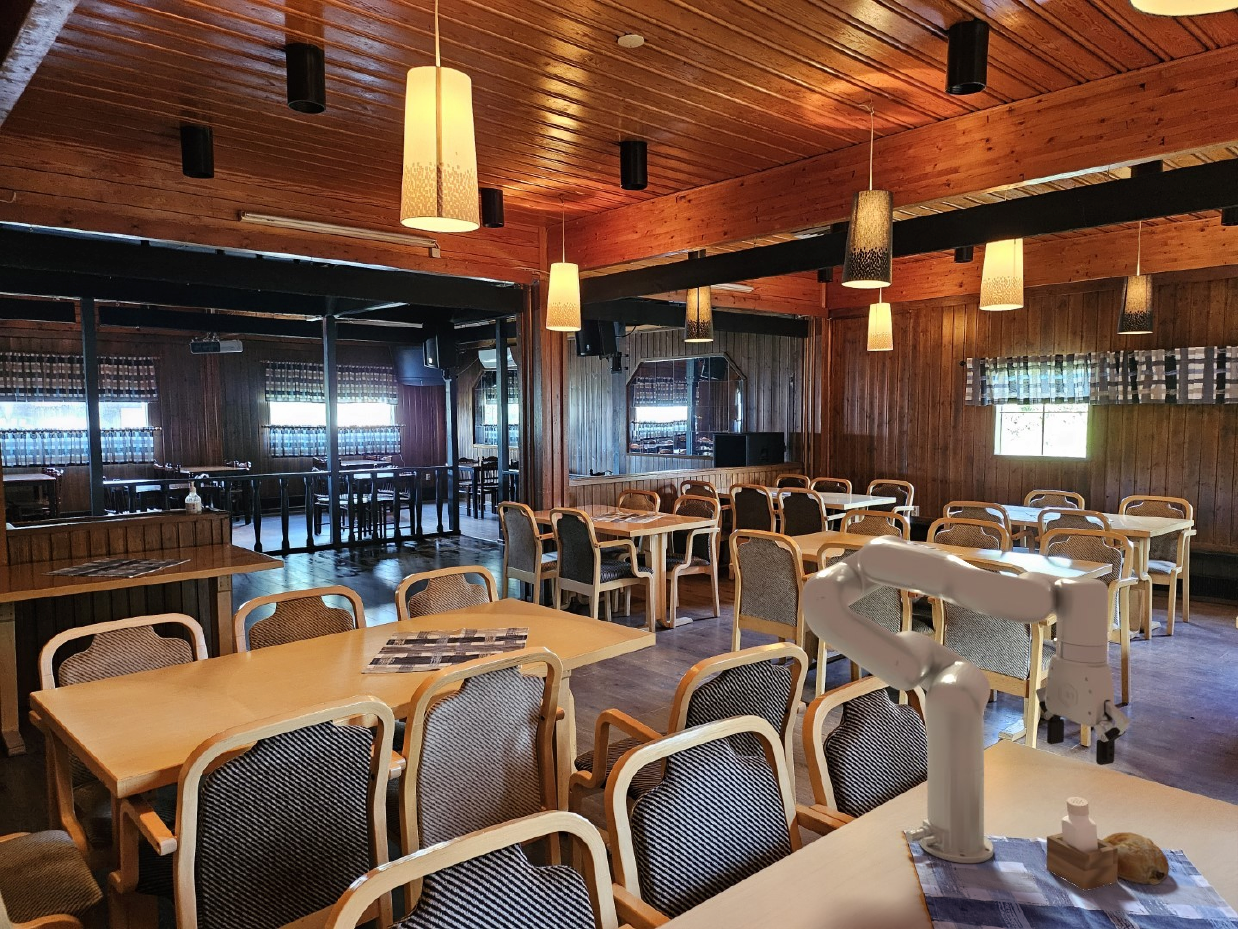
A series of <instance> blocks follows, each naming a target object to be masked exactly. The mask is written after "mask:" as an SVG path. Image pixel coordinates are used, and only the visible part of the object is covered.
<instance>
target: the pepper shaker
mask: <svg viewBox="0 0 1238 929" xmlns="http://www.w3.org/2000/svg"><path fill="white" fill-rule="evenodd" d="M1066 806H1067V807H1066V808H1067V810H1066V811H1067V815H1066V816H1064V817H1062V818H1061V833H1062V836H1063V842H1065V843H1067V844H1069V845H1070V846H1072V847H1074V848H1076V849H1078V850H1080V851H1082V852H1088V851H1092V850H1096V849H1098V843H1097V838H1098V832H1097V831H1098V829H1097V828H1098V827H1097V824H1096V822H1095V821H1094V820H1093V819H1092V818H1090V816H1089V814H1090V811H1089V801H1087V799H1085V798H1083V797H1078V796H1070V797H1068V798H1067V799H1066Z"/></svg>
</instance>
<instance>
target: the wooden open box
mask: <svg viewBox="0 0 1238 929" xmlns="http://www.w3.org/2000/svg"><path fill="white" fill-rule="evenodd" d="M1102 840H1103V839H1099V838H1098V837H1097V843H1098V849H1096V850H1092V851H1088V852H1082V851H1080V850H1078V849H1076V848H1074V847H1072V846H1070V845H1069V844H1067V843H1065V842H1063V836H1062V832H1061V833H1056V834H1051V835H1048V836H1046V870H1047V871H1048V872H1050V871H1051V872H1053V873H1055V874H1056V875H1055V874H1054V875H1055V876H1057V877H1058V876H1059V878H1060V877H1062V878H1064V879H1066V880H1067V881H1068V883H1069V882H1070V883H1069V884H1071V883H1073V884H1075V885H1076V886H1078V887H1079V888H1078V887H1077V888H1078V889H1080V888H1081V889H1084V890H1088V889H1091V890H1094V888H1095V889H1098V888H1097V887H1099V888H1102V887H1104V886H1103V885H1106V886H1108V885H1107V884H1110V883H1113V884H1117V883H1118V877H1117V867H1118V848H1116V847H1114V846H1112V845H1110V844H1108V843H1106V842H1104V841H1102ZM1051 872H1050V873H1051ZM1053 873H1052V874H1053ZM1062 878H1061V879H1062ZM1064 879H1063V880H1064ZM1066 880H1065V881H1066ZM1067 881H1066V882H1067ZM1073 884H1072V885H1073ZM1110 885H1111V884H1110ZM1076 886H1075V887H1076ZM1101 886H1102V887H1101ZM1081 889H1080V890H1081ZM1088 891H1089V890H1088Z"/></svg>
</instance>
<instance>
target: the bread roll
mask: <svg viewBox="0 0 1238 929" xmlns="http://www.w3.org/2000/svg"><path fill="white" fill-rule="evenodd" d="M1101 840H1102V841H1104V842H1106V843H1108V844H1110V845H1112V846H1114V847H1116V848H1118V867H1117V878H1121V879H1123V880H1124V881H1125V880H1126V881H1128V882H1132V883H1136V884H1140V883H1141V884H1142V885H1146V884H1147V885H1151V886H1157V885H1159V884H1161V882H1162V881H1163V880H1164V879H1165V878H1166V877H1168V875H1169V872H1170V871H1169V870H1170V867H1169V866H1170V865H1169V861H1168V858H1167V857H1166V855H1165V854H1164V852H1163V850H1161V848H1160V847H1159V846H1157V844H1155V843H1154V841H1153V840H1152V839H1151V838H1149V837H1145V836H1143V835H1140V834H1138V833H1134V832H1116V833H1112V834H1111V835H1108V836H1107V837H1105V838H1103V839H1101Z"/></svg>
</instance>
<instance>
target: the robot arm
mask: <svg viewBox="0 0 1238 929" xmlns="http://www.w3.org/2000/svg"><path fill="white" fill-rule="evenodd" d="M884 586H885V587H890V588H895V589H899V590H903V591H907V592H911V593H915V594H919V595H923V596H927V597H932V598H935V599H940V600H943V601H945V602H947V603H949V604H952V605H954V606H958V607H961V608H963V609H966V610H968V611H972V612H974V613H978V614H982V615H984V616H988V617H993V618H997V619H1000V620H1006V621H1009V622H1014V623H1018V624H1019V623H1020V624H1023V625H1025V624H1026V625H1029V624H1032V625H1033V624H1036V623H1037V624H1038V623H1041V622H1043V621H1044V620H1045V619H1047V618H1048V617H1049V616H1050V615H1055V617H1056V621H1055V622H1056V625H1055V626H1056V627H1055V628H1056V632H1055V633H1056V634H1055V638H1054V639H1053V640H1052V645H1053V646H1055V653H1054V654H1052V655H1051V658H1050V662H1049V665H1048V670H1047V676H1046V685H1045V687H1042V688H1038V689H1036V690H1035V693H1036V696H1037V699H1038V702H1039V707H1040V709H1041V710H1042V712H1043V718H1044V719H1045V720H1046V721H1047V723H1046V725H1047V726H1046V730H1047V731H1046V743H1047V744H1049V745H1055V744H1056V745H1057V744H1060V743H1061V744H1063V743H1064V742H1065V721H1064V719H1066V720H1069V721H1071V722H1073V723H1077V724H1079V725H1082V726H1086V727H1091V728H1094V730H1095V732H1096V733H1097V736H1098V737H1099V739H1097V740H1096V752H1095V753H1096V754H1095V755H1096V756H1095V761H1096V764H1097V765H1100V766H1104V765H1110V764H1113V763H1114V761H1115V750H1116V749H1115V747H1116V744H1115V743H1116V742H1115V741H1117V740H1119V739H1120V737H1122V736H1123V735H1124V734H1125V733H1126V730H1127V729H1128V727H1129V725H1130V723H1131V720H1130V718H1129V717H1128V716H1126V715H1125V714H1124V713H1123V712H1122V711H1121V710H1120V709H1119V708H1118V707H1116V706H1115V692H1114V691H1115V690H1114V682H1113V676H1112V670H1111V665H1110V664H1109V663H1108V635H1109V634H1108V631H1109V630H1108V629H1109V628H1108V627H1109V618H1108V617H1109V588H1108V585H1107V584H1106V583H1105V582H1104V581H1102V580H1100V579H1096V578H1093V577H1092V578H1091V577H1083V576H1082V577H1081V576H1080V577H1079V576H1068V577H1065V576H1059V575H1054V574H1049V573H1045V572H1039V571H1027V572H1026V571H1025V572H1023V573H1020V574H1018V575H1017V576H1012V575H1008V574H1003V573H998V572H994V571H989V570H986V569H983V568H979V567H976V566H974V565H972V564H969V562H966V561H965V560H964V559H962V558H960V557H959V556H958V555H956V554H954V553H951V552H948V551H943V550H938V549H935V548H934V549H933V548H927V547H923V546H918V545H914V544H910V543H908V542H907V541H906V540H904V539H903V538H901V537H900V536H897V535H893V534H891V535H890V534H885V535H880V536H877V537H875V538H873V539H871V540H869V541H867V542H866V543H864V544H863V546H862V547H861V548H860V549H859V550H857V551H855V552H854V553H852V554H850V555H849V556H847V557H844V558H843V559H841V560H840V561H838V562H837V563H835V564H833V565H830V566H828V567H826V568H823V569H820V570H818V571H817V572H815V573H814V574H812V575H811V576H810V577H809V578H808V579H807V580H806V582H805V583H804V585H803V588H802V591H801V597H800V600H801V601H800V602H801V604H800V605H801V611H802V615H803V617H804V621H805V622H806V625H807V626H808V627H809V629H810V630H811V632H812V633H813V634H814V635H815V636H816V637H817V638H818V639H820V641H822V642H823V643H825V644H826V645H828V646H829V647H831V649H834V650H835V651H836V652H838V653H839V654H841V655H843V656H845V658H847V659H849V660H851V661H852V662H853V663H855V664H856V665H857V666H858V667H861V668H862V669H864V670H865V671H866V672H868V673H870V674H871V675H873V676H874V677H876V678H877V679H879V680H880V681H882V682H883V683H885V684H886V685H888V686H889V687H891V688H893V689H894V690H898V691H901V692H906V691H910V690H913V689H914V690H915V689H916V688H917V687H920V688H922V689H923V690H925V691H926V694H925V697H924V698H925V699H924V714H925V715H924V717H925V725H926V728H925V729H926V745H927V747H926V751H927V752H926V753H927V754H926V757H927V765H926V766H927V782H926V783H927V786H926V787H927V793H926V794H927V798H926V799H927V800H926V801H927V807H926V808H927V818H926V819H922V826H920V827H919V828H918V829H911V830H907V831H905V838H906V840H907V842H908V843H916V842H918V843H919V845H920V846H921V848H922V849H923V850H924V851H926V852H927V853H929V854H931V856H934V857H937V858H939V859H942V860H944V861H948V862H953V863H960V864H978V863H983V862H985V861H988V860H990V859H991V858H992V857H993V855H994V850H995V848H994V845H993V843H992V841H991V840H990V839H989V838H988V837H987V836H986V835H985V745H984V740H985V739H984V721H983V720H984V713H985V712H984V711H985V709H986V706H987V704H988V702H989V700H990V697H991V696H990V695H991V684H990V682H989V679H988V677H987V676H986V673H985V672H983V670H982V669H981V668H979V667H978V666H977V665H976V664H974V663H972V662H971V661H970V660H967V658H965V657H963V656H961V655H960V654H958V653H956V652H955V651H953V650H951V649H949V647H946V646H944V645H943V644H942V643H940V642H938V641H937V640H935V639H933V638H931V637H930V636H928V635H926V634H923V633H921V632H918V631H914V630H904V631H899V632H897V633H893V632H892V631H889V630H888V629H886V628H884V627H883V626H880V624H878V623H877V622H875V621H873V620H872V619H870V618H868V617H865V616H863V615H861V614H858V613H857V612H855V611H853V610H852V609H851V607H849V606H851V605H853V604H854V603H856V602H859V600H861V599H863V598H865V597H867V596H868V595H870V594H872V593H874V592H875V591H877V590H879V589H881V588H883V587H884ZM1113 722H1115V723H1114V724H1113ZM1104 728H1105V729H1104Z"/></svg>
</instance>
